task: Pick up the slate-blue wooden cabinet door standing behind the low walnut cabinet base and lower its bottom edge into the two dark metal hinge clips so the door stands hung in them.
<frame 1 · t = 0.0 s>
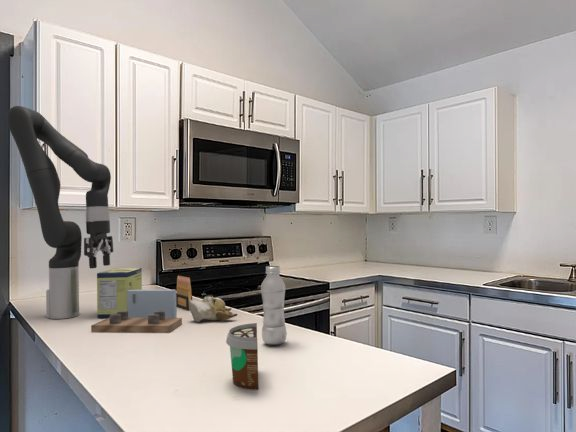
hand: (100, 266, 144), 17 cm above the counter, fingers open, 8 cm apart
cabinet base: (137, 328, 127), on the counter
protein box: (120, 314, 148), on the counter
door: (152, 320, 137), on the counter
food container: (242, 381, 83), on the counter
plastic bottle: (274, 344, 107), on the counter
ammunition clip: (184, 308, 155), on the counter
ceramic sculpture: (212, 321, 136), on the counter
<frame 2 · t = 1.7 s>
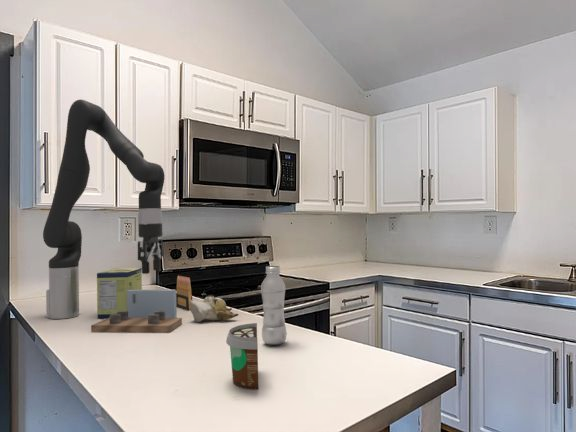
hand: (151, 271, 137), 16 cm above the counter, fingers open, 8 cm apart
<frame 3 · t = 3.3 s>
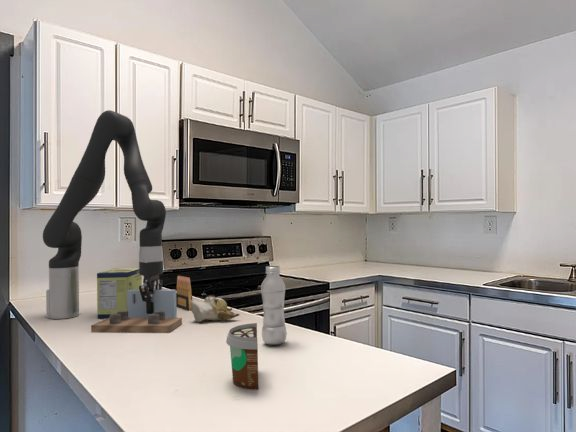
hand: (151, 312, 137), 3 cm above the counter, fingers closed on door, 2 cm apart
door: (152, 320, 137), on the counter, touching gripper
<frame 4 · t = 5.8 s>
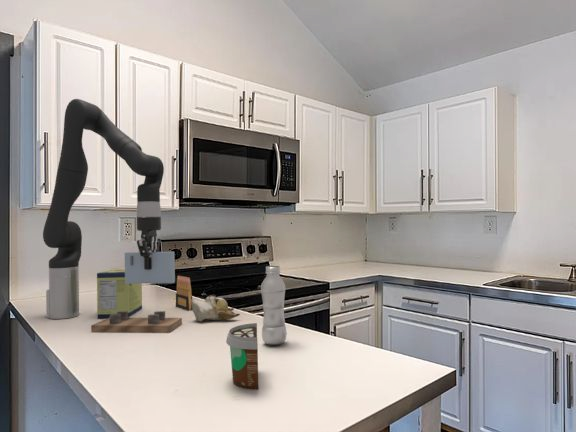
hand: (149, 268, 136), 17 cm above the counter, fingers closed on door
door: (150, 282, 136), point 12 cm above the counter, touching gripper
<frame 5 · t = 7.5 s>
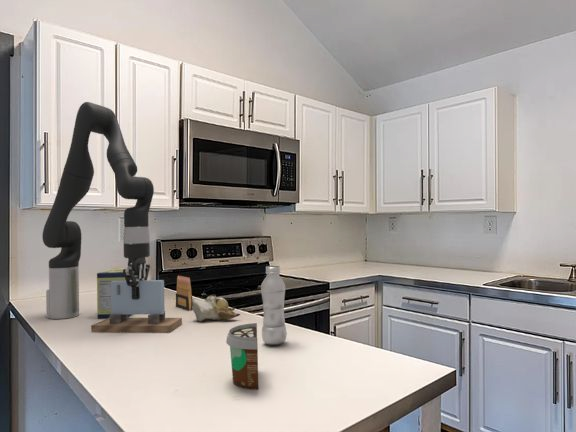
hand: (137, 298, 127), 9 cm above the counter, fingers closed on door, 2 cm apart
door: (138, 313, 127), point 4 cm above the counter, touching gripper
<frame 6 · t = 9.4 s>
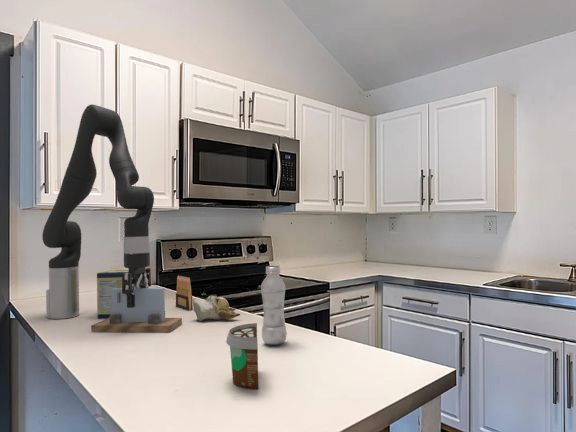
hand: (137, 304, 127), 7 cm above the counter, fingers open, 8 cm apart
door: (138, 321, 127), point 2 cm above the counter, touching cabinet base
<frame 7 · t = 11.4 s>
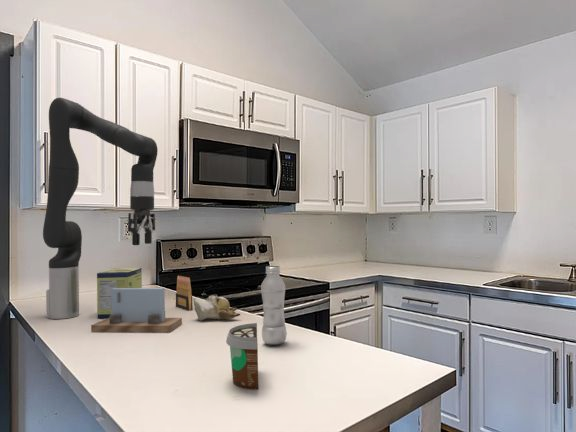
hand: (142, 244, 138), 25 cm above the counter, fingers open, 8 cm apart
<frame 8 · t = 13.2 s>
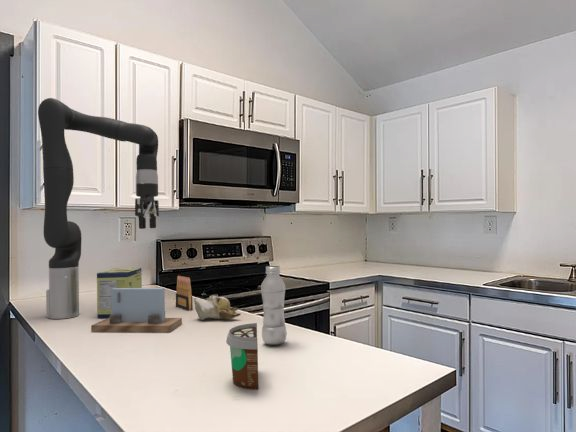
hand: (147, 228, 149), 30 cm above the counter, fingers open, 8 cm apart
at the end: door 0.1 cm off-centre on the cabinet base, point 2.0 cm above the cabinet base's base; door tilted 0°; the gripper is holding nothing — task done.
